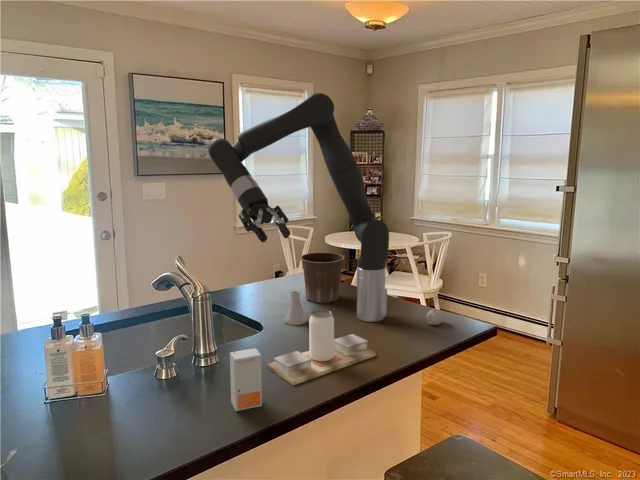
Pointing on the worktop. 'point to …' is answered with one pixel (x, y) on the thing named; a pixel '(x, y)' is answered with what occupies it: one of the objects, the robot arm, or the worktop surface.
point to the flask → (295, 310)
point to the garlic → (434, 317)
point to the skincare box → (246, 379)
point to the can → (321, 336)
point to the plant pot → (322, 276)
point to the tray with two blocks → (304, 368)
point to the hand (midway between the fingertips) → (276, 238)
